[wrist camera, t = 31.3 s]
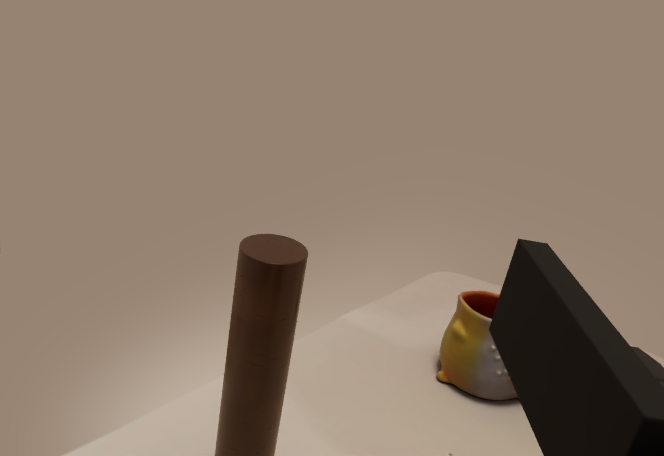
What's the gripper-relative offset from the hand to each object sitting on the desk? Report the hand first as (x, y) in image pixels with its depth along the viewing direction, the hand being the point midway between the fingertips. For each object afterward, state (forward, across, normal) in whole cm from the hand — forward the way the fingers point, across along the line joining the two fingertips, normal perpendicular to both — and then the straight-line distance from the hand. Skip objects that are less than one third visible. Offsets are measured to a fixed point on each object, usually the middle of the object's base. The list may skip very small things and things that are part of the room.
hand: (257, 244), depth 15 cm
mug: (+24, +19, -21) cm, 37 cm away
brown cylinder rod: (+10, 0, -21) cm, 23 cm away
